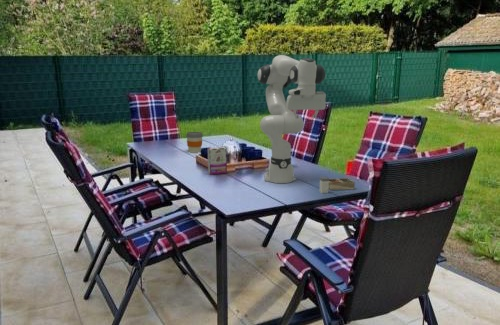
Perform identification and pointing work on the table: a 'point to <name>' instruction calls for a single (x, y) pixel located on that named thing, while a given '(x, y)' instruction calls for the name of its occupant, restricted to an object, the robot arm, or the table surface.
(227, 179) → the table surface
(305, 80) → the robot arm
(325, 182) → the plug
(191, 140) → the reusable coffee cup
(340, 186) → the socket block
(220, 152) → the candy bar box
